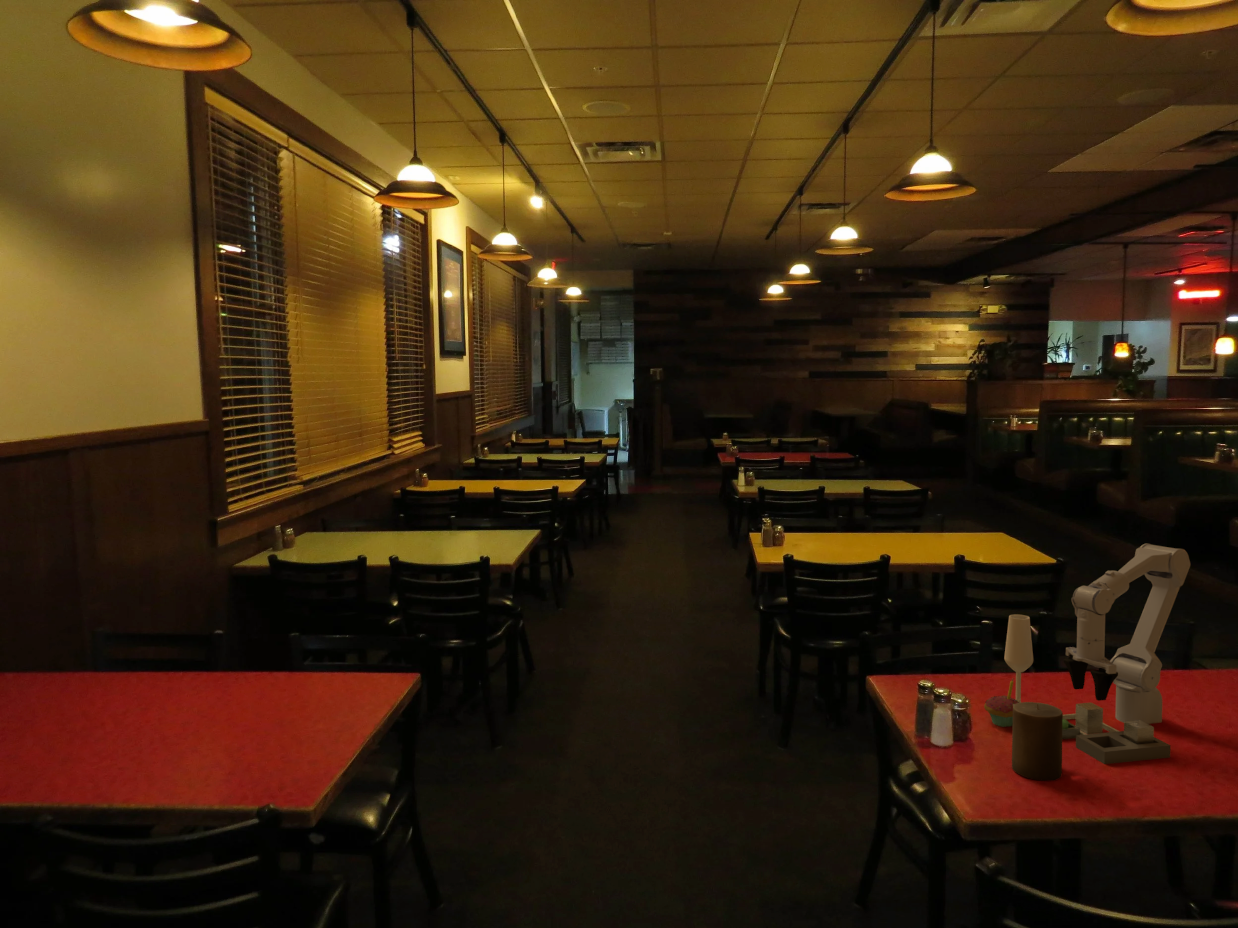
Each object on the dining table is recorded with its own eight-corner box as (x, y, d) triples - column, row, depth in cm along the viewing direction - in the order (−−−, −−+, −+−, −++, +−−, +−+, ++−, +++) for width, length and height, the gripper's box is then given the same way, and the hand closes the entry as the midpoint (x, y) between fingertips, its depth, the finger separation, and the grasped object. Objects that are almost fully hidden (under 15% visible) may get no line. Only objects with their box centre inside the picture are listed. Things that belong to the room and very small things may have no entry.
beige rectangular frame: (1083, 719, 210) (1084, 712, 210) (1126, 742, 196) (1126, 734, 196) (1050, 722, 209) (1050, 715, 208) (1090, 745, 195) (1091, 738, 195)
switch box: (1062, 730, 204) (1062, 718, 203) (1079, 740, 198) (1080, 728, 197) (1039, 732, 203) (1039, 720, 202) (1056, 742, 197) (1056, 730, 197)
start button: (1061, 731, 202) (1061, 717, 202) (1071, 737, 199) (1072, 723, 198) (1047, 732, 202) (1047, 718, 201) (1057, 738, 198) (1057, 724, 198)
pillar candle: (1059, 785, 176) (1061, 714, 175) (1008, 774, 181) (1009, 705, 180) (1063, 767, 184) (1065, 700, 183) (1014, 758, 190) (1015, 692, 188)
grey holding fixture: (1138, 744, 195) (1139, 729, 195) (1170, 760, 186) (1170, 745, 186) (1075, 750, 193) (1075, 735, 192) (1104, 767, 184) (1104, 751, 183)
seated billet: (1139, 745, 192) (1140, 720, 192) (1153, 753, 188) (1153, 726, 188) (1123, 747, 192) (1124, 721, 191) (1136, 754, 188) (1137, 728, 187)
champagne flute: (1024, 703, 222) (1025, 613, 220) (1037, 713, 215) (1039, 619, 213) (998, 704, 221) (999, 613, 219) (1011, 714, 215) (1012, 620, 213)
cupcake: (1020, 720, 210) (1021, 673, 209) (1024, 733, 202) (1025, 684, 201) (982, 717, 213) (983, 670, 212) (985, 730, 205) (985, 681, 204)
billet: (1090, 726, 204) (1091, 702, 204) (1102, 733, 200) (1103, 708, 200) (1075, 728, 204) (1075, 703, 203) (1087, 734, 200) (1087, 709, 199)
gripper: (1054, 630, 207) (1053, 685, 208) (1097, 647, 192) (1096, 706, 193) (1081, 628, 208) (1080, 682, 209) (1125, 645, 193) (1123, 703, 194)
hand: (1089, 694), depth 201 cm, fingers open, 7 cm apart
